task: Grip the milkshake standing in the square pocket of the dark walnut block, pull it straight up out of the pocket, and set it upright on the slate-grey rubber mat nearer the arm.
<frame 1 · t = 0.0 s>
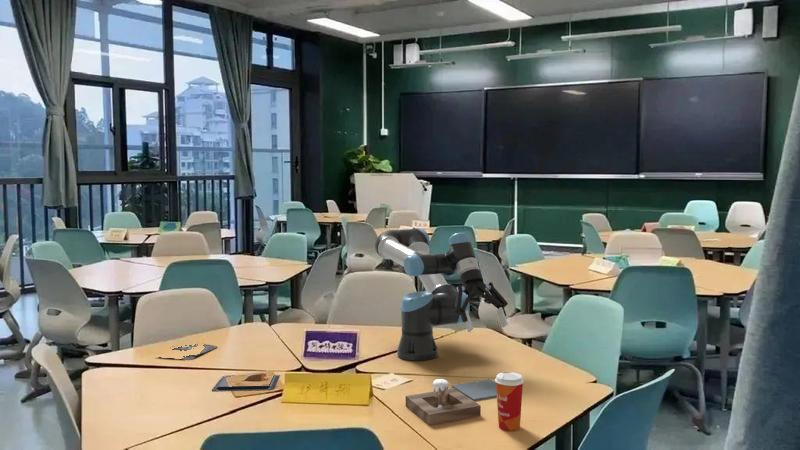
hand: (488, 328, 217), 15 cm above the table, tool tilted 35°, fingers open, 13 cm apart
paper cup: (509, 427, 171), on the table
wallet: (247, 385, 210), on the table
pocket block: (442, 410, 183), on the table
mat: (481, 390, 200), on the table
milkshake: (442, 411, 184), resting in pocket block
terrain model: (189, 354, 248), on the table
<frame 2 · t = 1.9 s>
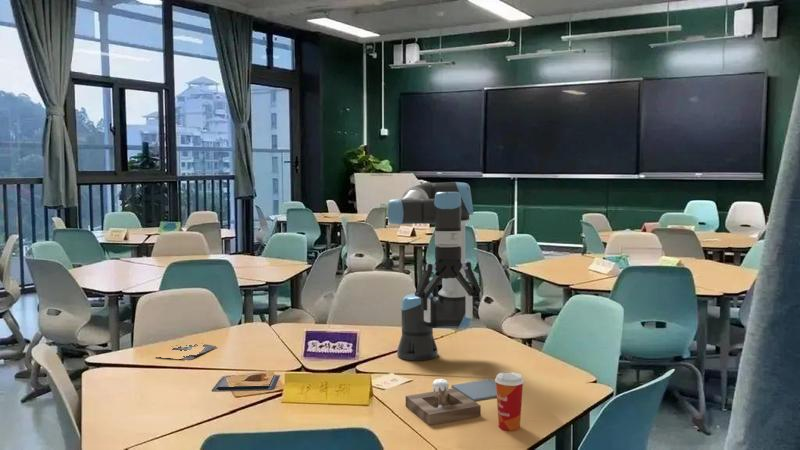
hand: (448, 319, 183), 26 cm above the table, tool pointing down, fingers open, 13 cm apart
nothing on the table moved.
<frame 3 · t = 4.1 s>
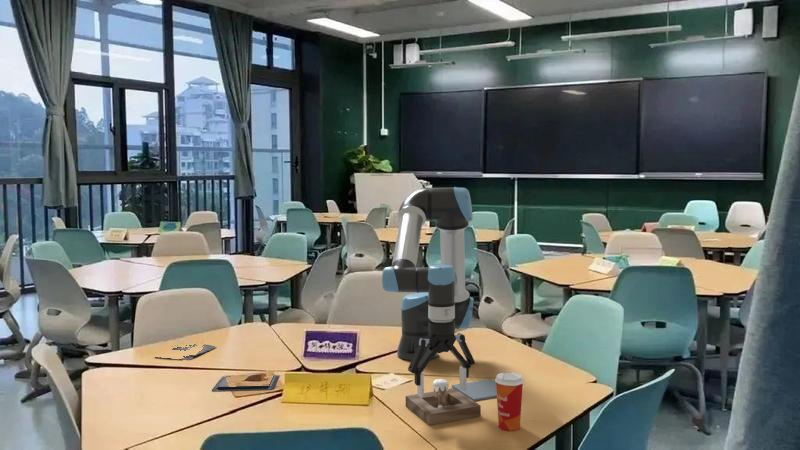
hand: (442, 392, 183), 5 cm above the table, tool pointing down, fingers open, 13 cm apart
nothing on the table moved.
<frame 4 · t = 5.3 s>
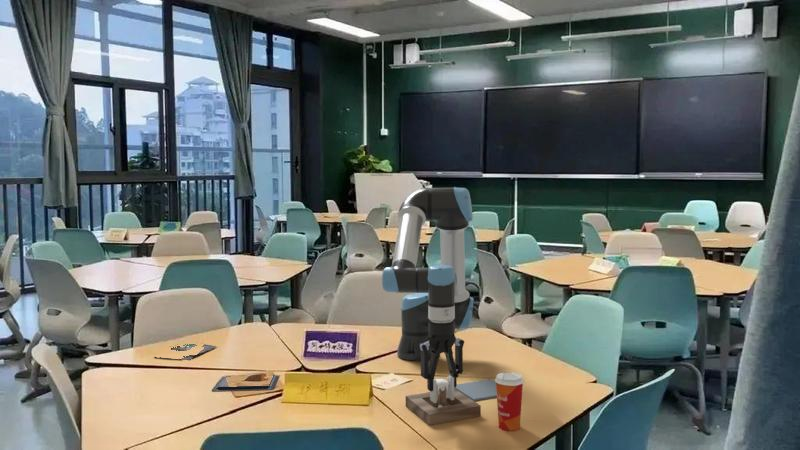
hand: (442, 399, 183), 3 cm above the table, tool pointing down, fingers closed on milkshake, 5 cm apart
milkshake: (442, 411, 183), resting in pocket block, touching gripper
everything else where it was.
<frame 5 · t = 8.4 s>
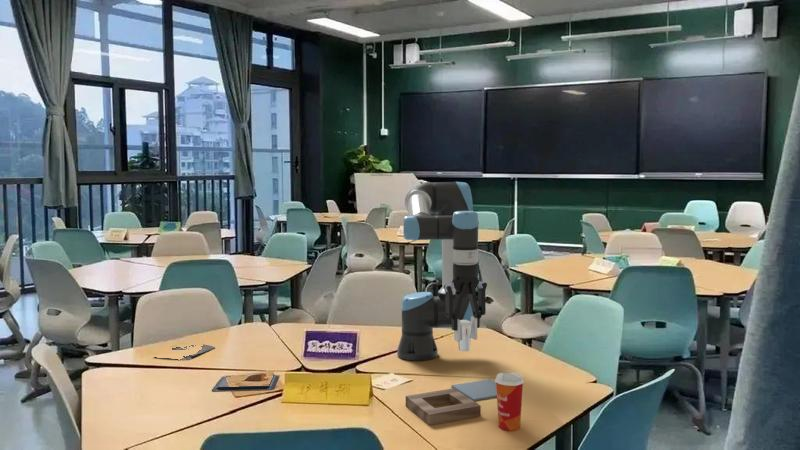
hand: (465, 339, 192), 18 cm above the table, tool pointing down, fingers closed on milkshake, 5 cm apart
milkshake: (465, 350, 192), point 15 cm above the table, touching gripper
everything else where it was.
when the fingers open (5 cm above the table, at t = 11.5 s): milkshake drops 1 cm, resting on mat.
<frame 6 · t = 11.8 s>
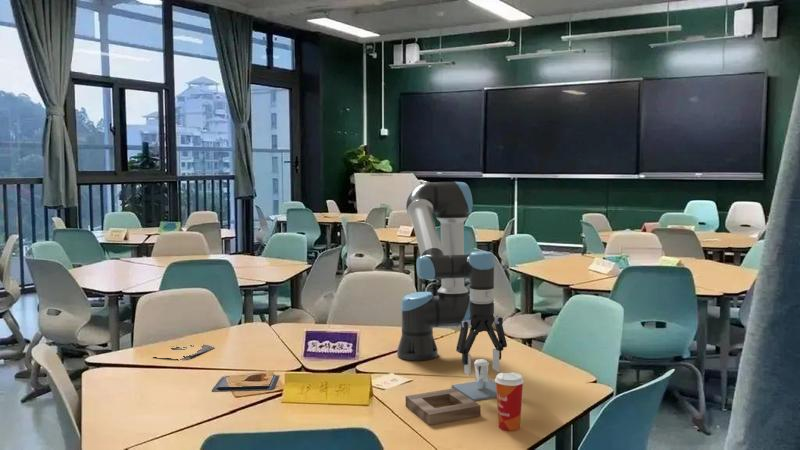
hand: (481, 372, 200), 6 cm above the table, tool pointing down, fingers open, 9 cm apart
milkshake: (483, 389, 200), resting on mat
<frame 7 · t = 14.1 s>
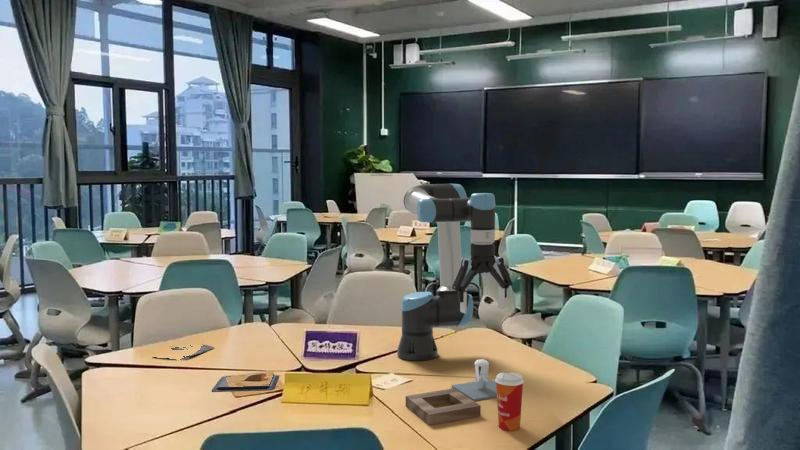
hand: (482, 310, 200), 25 cm above the table, tool pointing down, fingers open, 13 cm apart
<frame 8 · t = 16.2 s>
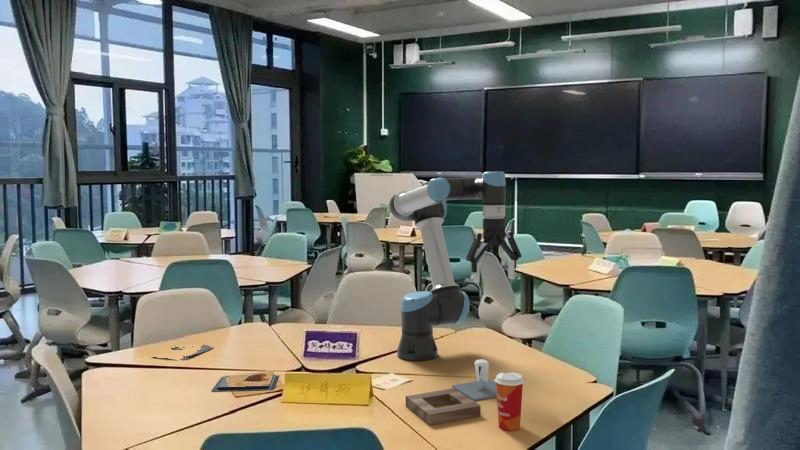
hand: (494, 280, 215), 32 cm above the table, tool pointing down, fingers open, 13 cm apart
at the end: milkshake inside the target area on the mat (0.4 cm from its centre), point 0.4 cm above the mat's base; milkshake tilted 0°; the gripper is holding nothing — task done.
